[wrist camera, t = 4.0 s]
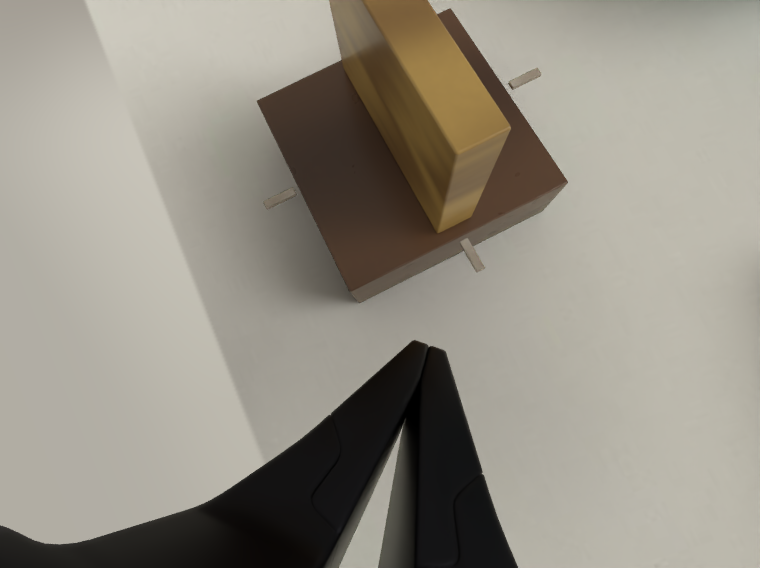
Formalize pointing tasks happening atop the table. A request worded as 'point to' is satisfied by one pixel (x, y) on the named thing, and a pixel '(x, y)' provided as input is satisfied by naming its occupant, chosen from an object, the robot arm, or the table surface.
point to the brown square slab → (396, 177)
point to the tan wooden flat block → (422, 101)
